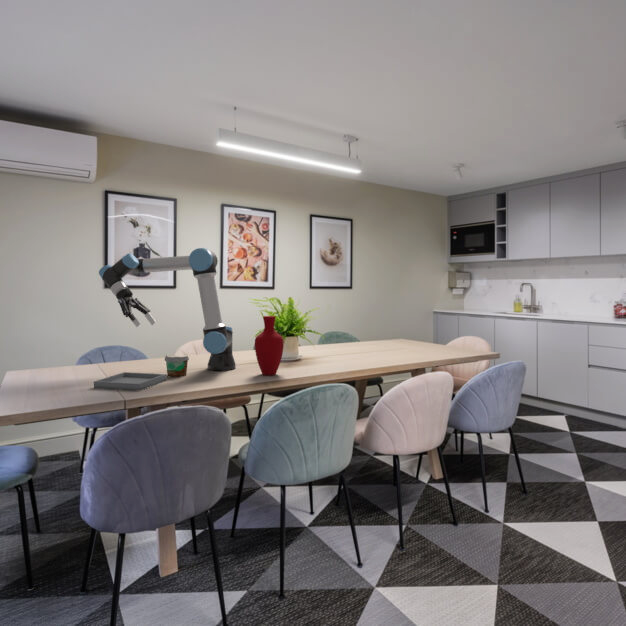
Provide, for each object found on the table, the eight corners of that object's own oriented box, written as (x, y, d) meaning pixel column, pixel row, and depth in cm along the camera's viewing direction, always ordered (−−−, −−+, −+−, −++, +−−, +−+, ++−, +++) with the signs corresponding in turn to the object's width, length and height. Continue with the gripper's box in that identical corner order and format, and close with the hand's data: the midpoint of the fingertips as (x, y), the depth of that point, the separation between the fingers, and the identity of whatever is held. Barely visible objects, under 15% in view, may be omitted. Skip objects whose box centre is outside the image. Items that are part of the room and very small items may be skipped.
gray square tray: (166, 380, 210) (166, 374, 210) (139, 391, 188) (139, 384, 188) (124, 378, 214) (124, 372, 214) (93, 388, 193) (93, 381, 192)
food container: (160, 377, 218) (159, 357, 217) (165, 374, 224) (165, 355, 223) (183, 378, 216) (183, 357, 216) (189, 375, 222) (189, 355, 222)
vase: (272, 378, 217) (273, 317, 216) (248, 375, 225) (248, 316, 223) (288, 373, 230) (289, 316, 229) (265, 370, 238) (265, 315, 236)
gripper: (131, 296, 238) (155, 327, 236) (100, 296, 213) (126, 330, 211) (141, 287, 236) (164, 318, 234) (111, 286, 212) (137, 321, 210)
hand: (146, 324), depth 223 cm, fingers open, 13 cm apart
